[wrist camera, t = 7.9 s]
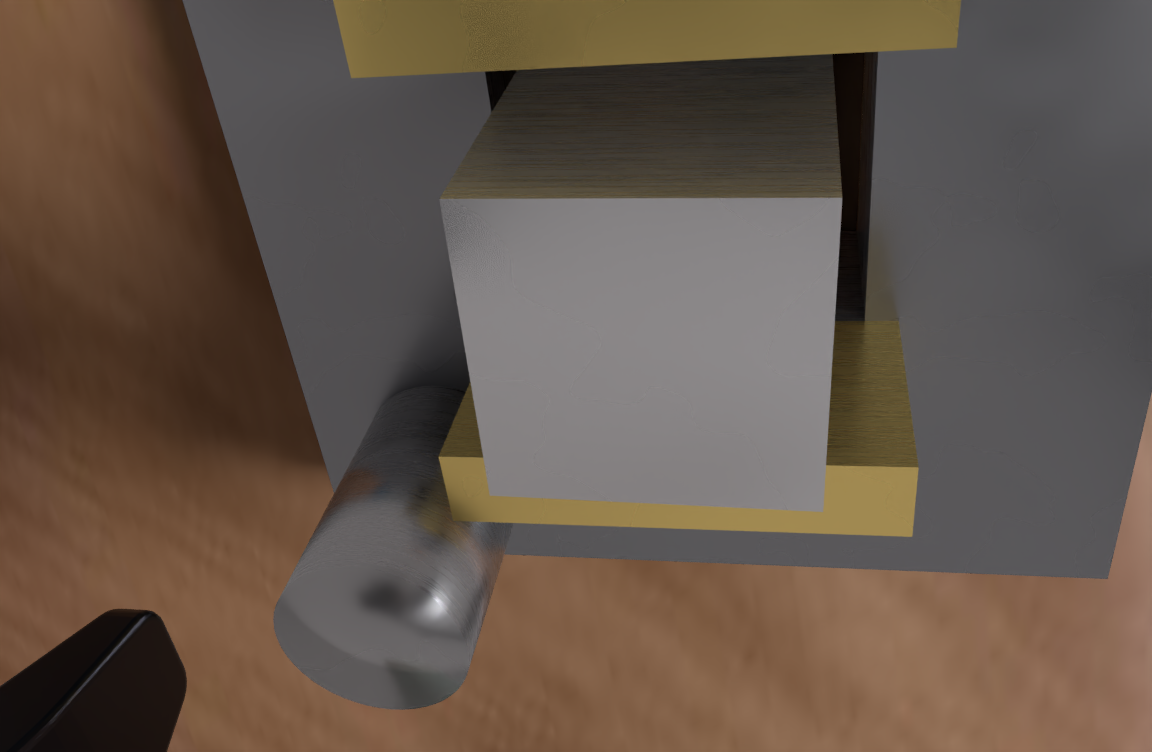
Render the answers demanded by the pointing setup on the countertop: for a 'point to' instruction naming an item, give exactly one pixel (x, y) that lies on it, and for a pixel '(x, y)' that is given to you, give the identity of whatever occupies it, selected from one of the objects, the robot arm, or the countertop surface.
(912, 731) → the countertop surface
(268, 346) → the countertop surface
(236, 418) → the countertop surface
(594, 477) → the grey rectangular block
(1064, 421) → the gray yellow fixture base
